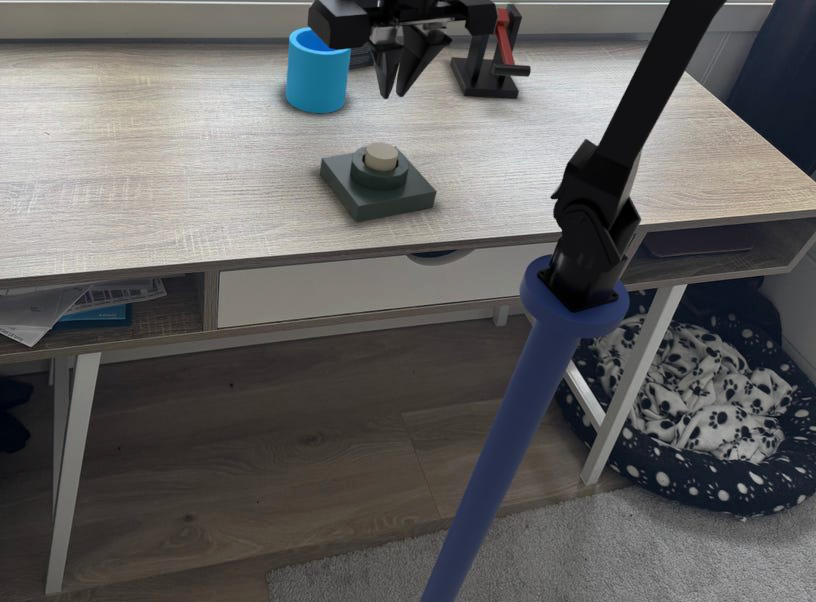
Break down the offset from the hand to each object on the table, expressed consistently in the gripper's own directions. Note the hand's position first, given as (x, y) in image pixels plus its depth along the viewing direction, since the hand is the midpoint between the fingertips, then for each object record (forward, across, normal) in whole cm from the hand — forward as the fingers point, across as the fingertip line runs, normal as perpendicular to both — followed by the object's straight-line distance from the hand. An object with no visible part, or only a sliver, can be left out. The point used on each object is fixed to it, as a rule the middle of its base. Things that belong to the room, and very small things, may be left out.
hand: (391, 96), depth 78 cm
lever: (+5, -28, -17) cm, 33 cm away
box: (+12, -12, -33) cm, 37 cm away
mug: (+12, -2, -24) cm, 27 cm away
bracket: (+12, -29, -21) cm, 38 cm away
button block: (+12, 0, 0) cm, 12 cm away
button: (+8, 0, 0) cm, 8 cm away
